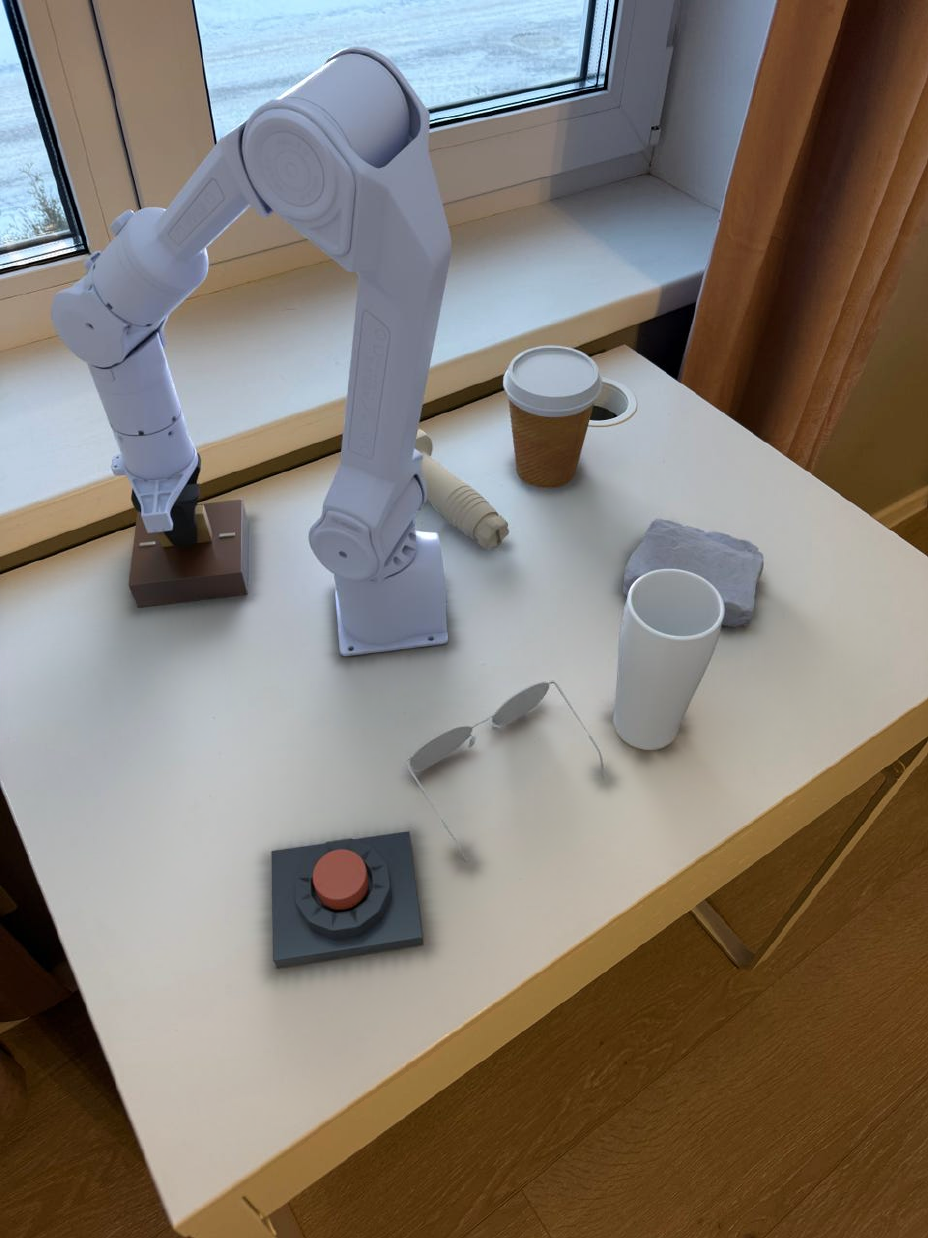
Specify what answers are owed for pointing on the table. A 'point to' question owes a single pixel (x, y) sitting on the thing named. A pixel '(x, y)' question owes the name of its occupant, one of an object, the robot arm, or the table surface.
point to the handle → (459, 500)
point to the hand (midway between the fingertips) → (186, 536)
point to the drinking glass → (663, 653)
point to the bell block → (356, 931)
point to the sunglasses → (458, 735)
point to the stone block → (702, 564)
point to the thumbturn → (202, 528)
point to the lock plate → (192, 561)
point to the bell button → (340, 879)
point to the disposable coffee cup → (550, 411)
